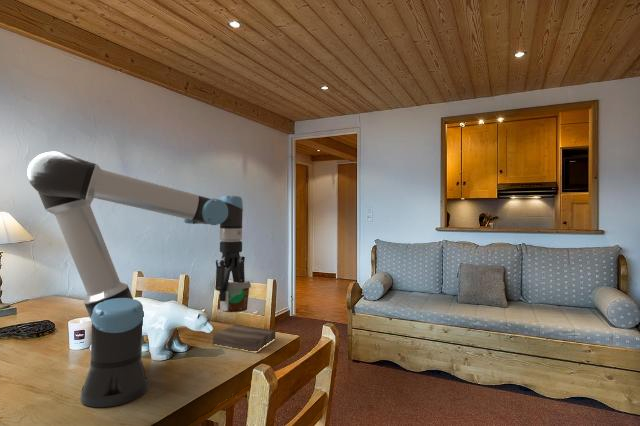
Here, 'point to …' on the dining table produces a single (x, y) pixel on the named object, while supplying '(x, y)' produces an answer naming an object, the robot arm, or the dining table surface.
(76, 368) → the dining table surface
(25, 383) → the dining table surface
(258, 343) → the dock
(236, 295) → the food container
